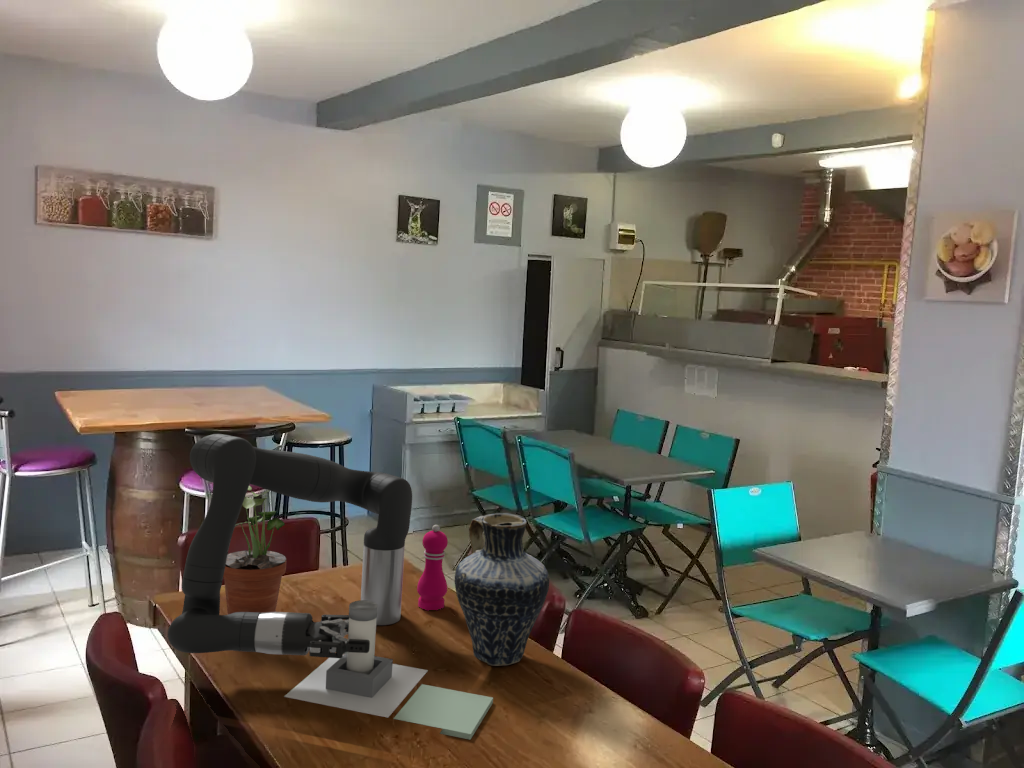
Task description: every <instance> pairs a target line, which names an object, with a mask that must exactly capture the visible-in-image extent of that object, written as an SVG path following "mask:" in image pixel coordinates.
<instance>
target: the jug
mask: <svg viewBox="0 0 1024 768" xmlns="http://www.w3.org/2000/svg"><path fill="white" fill-rule="evenodd" d="M526 527H527V519H526V518H525V517H524V516H521V515H518V514H513V513H511V512H496V513H491V514H490V513H489V514H485V515H480V516H477V517H475V518H471V522H470V524H469V527H468V536H469V540H470V541H469V542H470V546H471V554H470V555H468V556H466V557H464V559H462V560H461V561H460V562H459V564H458V565H457V567H456V570H455V573H454V587H455V593H456V597H457V601H458V604H459V606H460V608H461V611H462V612H463V613H462V614H463V616H464V620H465V623H466V626H467V628H468V629H467V630H468V633H469V636H470V639H471V643H472V652H473V657H475V658H476V659H477V660H479V661H481V662H483V663H487V665H488V666H494V667H501V666H509V665H513V664H516V663H519V662H520V661H521V660H522V658H523V655H524V654H525V650H526V646H527V644H528V643H527V642H528V639H529V636H530V634H531V632H532V629H533V628H534V625H535V623H536V621H537V618H538V617H539V615H540V613H541V611H542V609H543V607H544V604H545V601H546V598H547V596H548V592H549V589H550V575H549V571H548V570H547V568H546V566H545V565H544V564H543V563H542V562H541V561H540V560H539V559H537V558H535V557H534V556H533V555H530V554H528V553H527V552H525V549H524V545H523V537H524V535H525V530H526ZM483 534H484V536H483Z"/></svg>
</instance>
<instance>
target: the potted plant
mask: <svg viewBox="0 0 1024 768" xmlns="http://www.w3.org/2000/svg"><path fill="white" fill-rule="evenodd" d="M252 489H253V488H252V486H251V485H249V487H248V490H247V491H251V494H252V495H253V497H258V496H260V495H261V496H262V495H265V496H264V498H251V497H247V496H245V498H244V501H243V504H242V507H243V508H245V510H246V511H245V512H246V515H247V517H246V519H247V521H245V522H239V523H236V525H235V528H236V527H237V526H239V525H240V526H241V529H242V532H243V533H244V537H245V540H246V543H247V546H248V547H247V548H248V550H241V551H240V550H239V551H234V552H230V553H228V555H227V560H226V565H225V571H224V576H223V580H224V582H223V583H224V590H225V591H224V592H225V602H226V609H227V612H226V613H227V615H228V614H232V613H235V612H260V613H266V612H277V606H278V600H279V593H280V588H281V583H282V576H284V575H285V573H286V572H287V562H288V561H287V557H286V556H285V555H284V554H282V553H280V552H276V551H273V550H272V551H271V550H268V549H269V548H270V547H271V543H272V538H273V534H274V531H275V529H276V530H277V531H279V530H280V529H281V528H283V526H285V522H284V521H283V520H282V519H280V518H278V517H274V516H275V515H276V513H277V511H276V510H270V511H266V502H265V501H266V500H267V499H268V498H269V496H267V493H269V492H271V491H270V490H267V489H266V491H264V492H262V493H261V494H257V493H255V492H254V491H252ZM266 496H267V497H266ZM263 502H264V505H263ZM261 505H263V511H260V512H259V511H258V512H257V511H256V507H257V506H261ZM251 508H254V516H251V517H250V516H249V515H248V514H249V513H248V509H251ZM257 514H258V515H257ZM260 517H261V518H260ZM266 521H267V524H266ZM261 522H262V525H261V536H260V535H259V526H258V523H261ZM245 523H248V529H249V534H250V540H251V544H250V542H249V539H248V536H247V534H246V533H245V530H244V527H243V525H242V524H245ZM265 524H266V525H265ZM265 527H266V529H265ZM266 530H267V531H271V530H272V532H271V535H270V538H269V541H268V543H267V545H266V534H265V533H266ZM259 536H260V537H261V538H260V537H259ZM251 545H252V549H251Z"/></svg>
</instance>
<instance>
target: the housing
mask: <svg viewBox="0 0 1024 768" xmlns="http://www.w3.org/2000/svg"><path fill="white" fill-rule="evenodd" d="M393 660H394V659H393V658H388V657H383V656H377V655H374V670H373V671H372V672H371V673H370V674H369V675H368V674H363V673H358V672H353V671H347V670H346V669H347V654H343V657H342V658H327V659H326V660H324V662H323V663H321V664H320V665H318V667H317V668H315V669H314V670H313V671H312V672H311V673H310V674H309V675H307V676H306V677H305V678H304V679H302V681H300V682H299V683H298V684H297V685H295V686H294V687H293V688H292V689H290V691H289V692H287V694H285V695H284V696H283V697H284V698H287V699H288V698H289V699H292V700H293V699H294V700H299V701H303V702H304V701H305V702H308V703H314V704H319V705H323V706H328V707H333V708H337V709H342V710H343V709H344V710H348V711H353V712H359V713H362V714H369V715H372V716H379V717H385V718H390V716H391V715H392V713H394V712H395V710H396V709H398V707H399V706H400V704H401V703H402V702H403V701H404V699H405V698H406V697H407V696H408V695H409V694H410V692H411V691H412V690H413V689H414V688H415V687H416V685H418V683H419V682H420V681H421V679H422V678H423V677H424V676H425V675H426V673H428V671H429V670H428V669H423V668H417V667H413V666H409V665H408V666H407V665H401V664H397V663H393Z"/></svg>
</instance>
